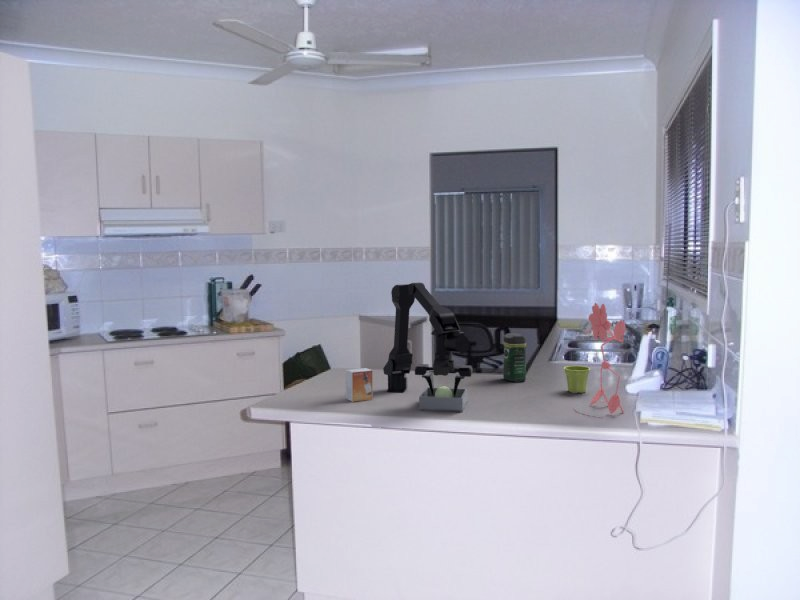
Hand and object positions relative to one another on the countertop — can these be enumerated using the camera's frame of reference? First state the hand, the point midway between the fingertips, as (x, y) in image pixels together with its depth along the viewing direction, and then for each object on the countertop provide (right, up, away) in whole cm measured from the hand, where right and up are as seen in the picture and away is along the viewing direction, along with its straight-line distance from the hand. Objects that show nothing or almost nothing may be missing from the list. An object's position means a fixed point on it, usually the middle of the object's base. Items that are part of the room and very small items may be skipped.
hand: (443, 395), depth 225 cm
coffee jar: (+31, 0, +41) cm, 51 cm away
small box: (-29, -3, +11) cm, 31 cm away
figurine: (+49, -4, -7) cm, 50 cm away
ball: (0, -3, 0) cm, 3 cm away
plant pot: (+50, -2, +20) cm, 54 cm away
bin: (0, -4, 0) cm, 4 cm away
